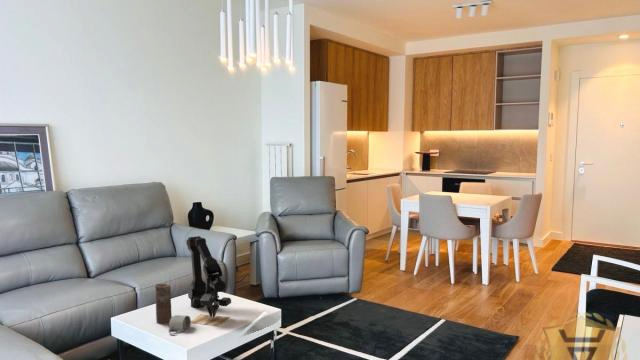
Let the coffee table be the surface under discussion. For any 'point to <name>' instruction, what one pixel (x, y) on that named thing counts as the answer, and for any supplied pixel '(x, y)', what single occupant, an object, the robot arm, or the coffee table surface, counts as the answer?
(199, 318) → the plank
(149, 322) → the coffee table surface
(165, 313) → the candle
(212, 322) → the floor board
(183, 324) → the ceramic mug
